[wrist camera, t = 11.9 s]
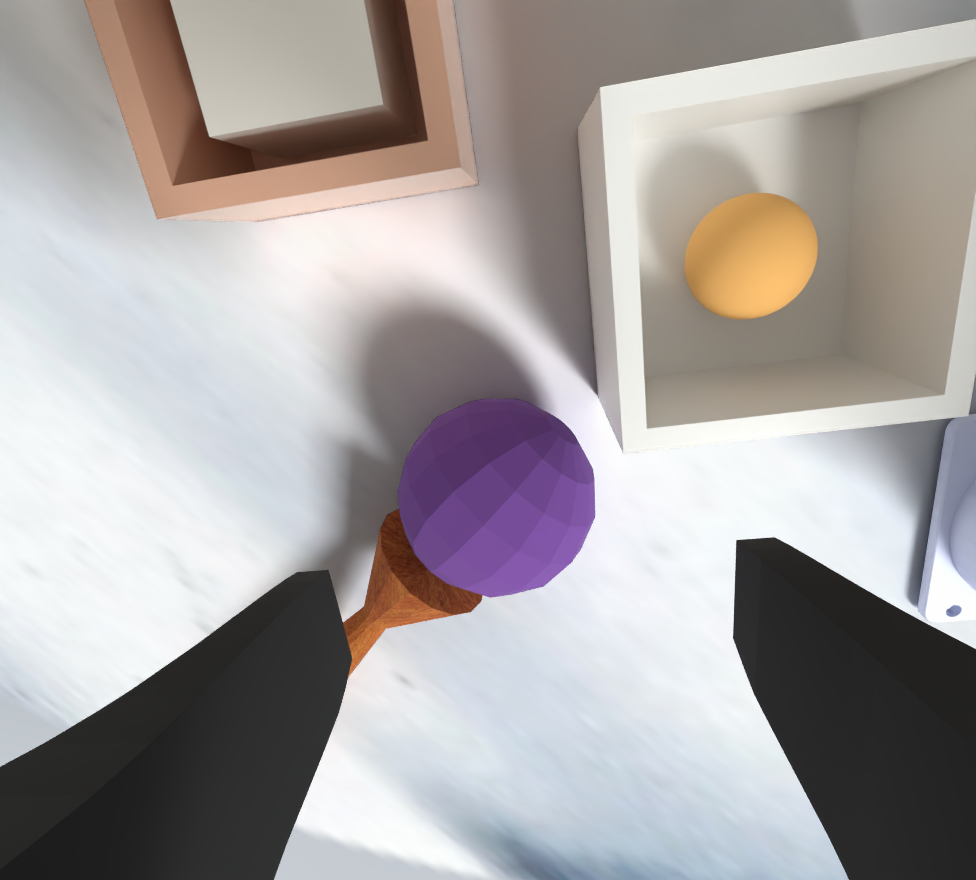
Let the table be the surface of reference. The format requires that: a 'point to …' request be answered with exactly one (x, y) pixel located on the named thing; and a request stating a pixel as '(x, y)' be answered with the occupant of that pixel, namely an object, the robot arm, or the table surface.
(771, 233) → the orange ball
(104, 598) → the table surface
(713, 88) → the white open box
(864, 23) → the table surface
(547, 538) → the kendama
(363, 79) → the white block
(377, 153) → the salmon open box
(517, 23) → the table surface
